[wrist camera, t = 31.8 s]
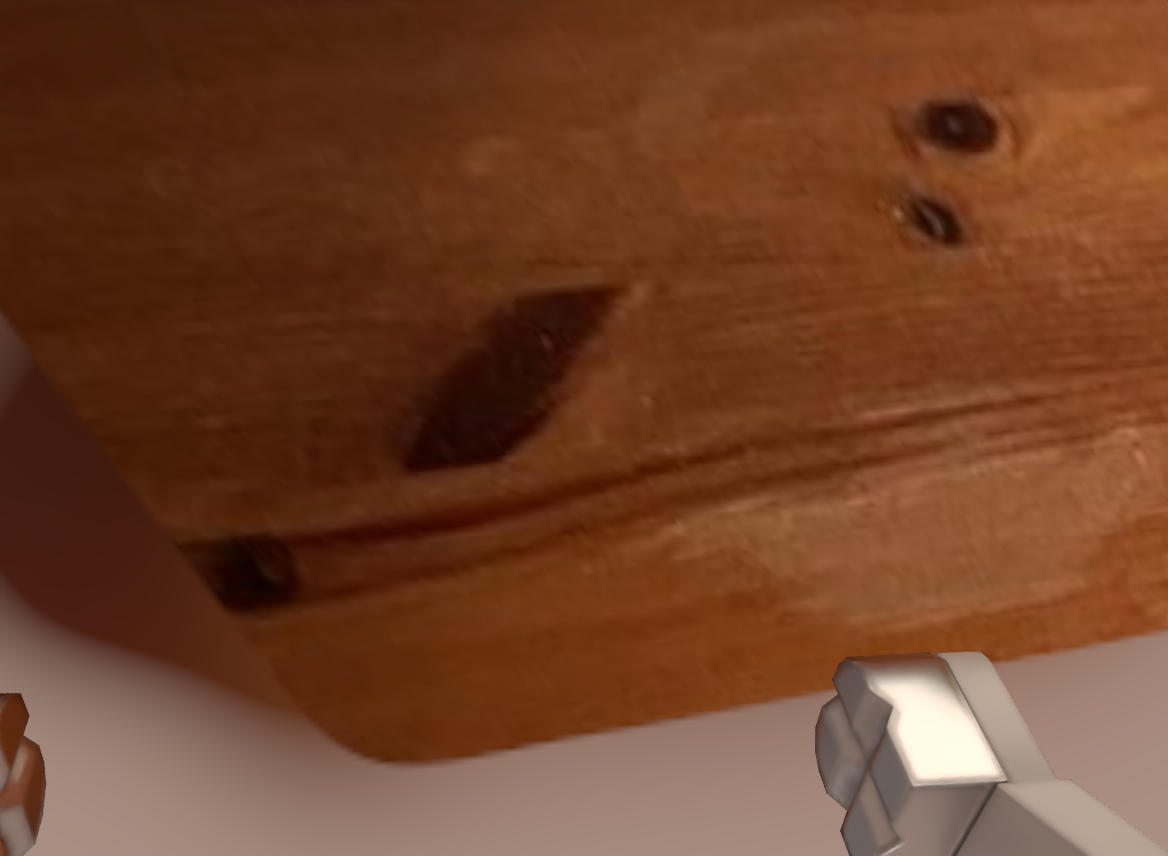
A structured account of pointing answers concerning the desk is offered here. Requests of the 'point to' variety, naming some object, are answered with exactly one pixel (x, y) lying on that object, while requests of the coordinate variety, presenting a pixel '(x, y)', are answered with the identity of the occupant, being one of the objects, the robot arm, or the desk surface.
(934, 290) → the desk surface
